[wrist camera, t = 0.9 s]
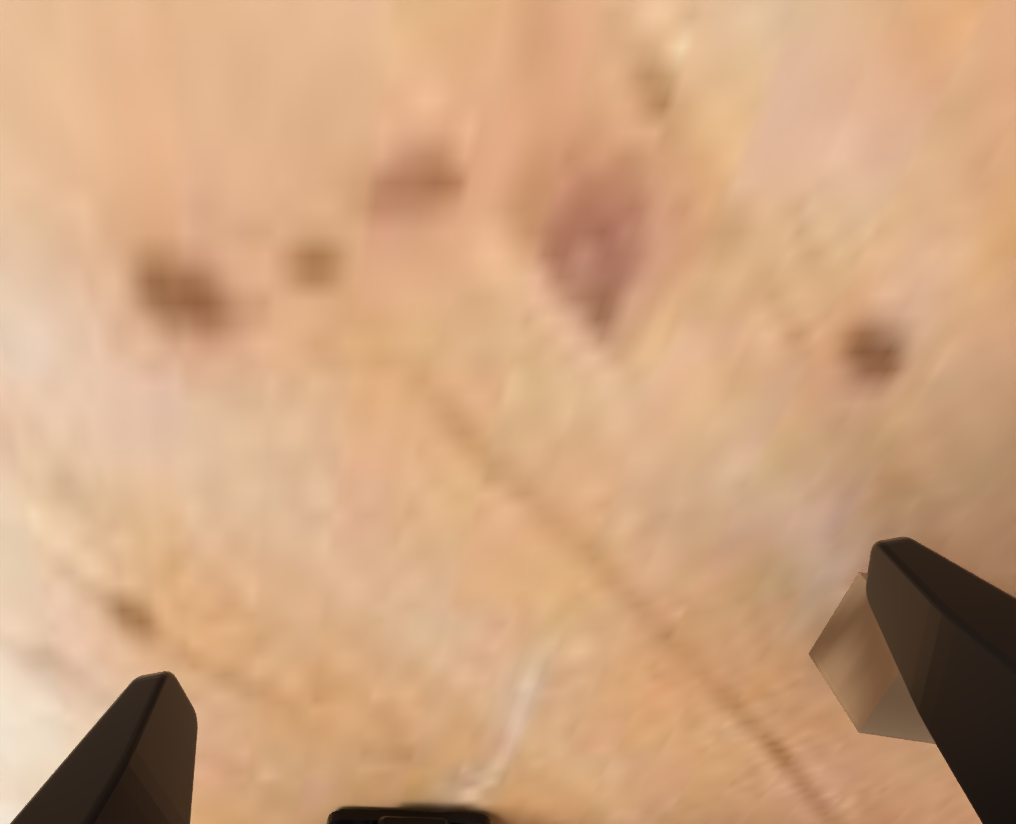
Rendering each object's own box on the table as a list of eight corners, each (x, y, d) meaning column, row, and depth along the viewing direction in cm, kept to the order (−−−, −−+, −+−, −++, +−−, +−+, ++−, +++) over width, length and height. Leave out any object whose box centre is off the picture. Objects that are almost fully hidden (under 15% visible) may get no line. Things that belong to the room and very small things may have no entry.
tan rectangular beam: (1046, 692, 34) (1121, 771, 30) (805, 649, 31) (858, 732, 27) (1103, 620, 32) (1190, 695, 29) (855, 568, 29) (918, 645, 26)
